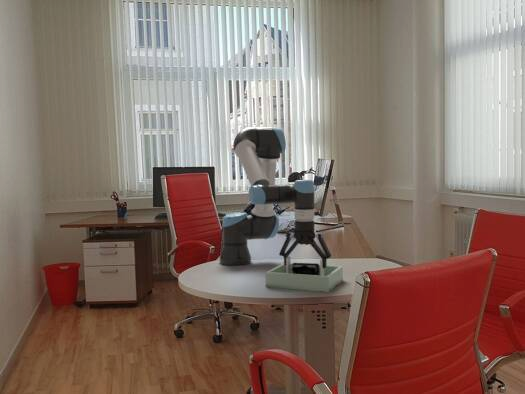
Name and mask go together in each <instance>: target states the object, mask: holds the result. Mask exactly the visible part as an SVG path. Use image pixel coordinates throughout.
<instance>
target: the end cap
mask: <svg viewBox="0 0 525 394" xmlns="http://www.w3.org/2000/svg"><path fill="white" fill-rule="evenodd" d="M292 263H293V267H292V271H293V274H305V275H319V274H320V268H319V265H320V263H316V262H315V263H313V262H312V263H311V262H292Z"/></svg>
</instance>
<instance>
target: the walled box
mask: <svg viewBox="0 0 525 394" xmlns="http://www.w3.org/2000/svg"><path fill="white" fill-rule="evenodd" d="M293 263H294V262H292V263H291V262H290V264H291V273H286V265H284V262H283V263H281V264H279V265H278V266H275V267H273V268H272V269H270V270H268V271H266V272H265V287H266V288H274V289H288V290H299V291H308V292H310V291H312V292H321V291H323V292H322V293H324V292H325V293H330V292H331V291H332V290H333V289H335V288H336V287H337V286H338V285H339V284H340V283H341V282H342V281H343V278H344V277H343V276H344V273H343V272H344V271H343V270H344V269H343V266H339V265H327V266H326V268H324V276H320V274H319V275H305V274H293V271H292V267H293ZM319 268H320V264H319ZM336 285H337V286H336ZM330 290H331V291H330ZM329 291H330V292H329Z"/></svg>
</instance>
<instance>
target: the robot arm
mask: <svg viewBox="0 0 525 394" xmlns="http://www.w3.org/2000/svg"><path fill="white" fill-rule="evenodd" d="M286 142H287V141H286V137H285V134H284V131H283V130H282V129H281V128H279V127H271V126H269V127H268V126H267V127H266V126H265V127H263V126H262V127H261V126H260V127H259V126H257V127H253V126H248V127H245V128H244V129H241V131H239V132H238V133H237V134H236V136H235V137H234V140H233V145H232V146H233V147H232V148H233V151H234V152H233V153H234V154H235V156H236V157H237V158H238V159H239V160H240V163H241V164H242V165H241V166H242V167H243V170H244V173H245V175H246V178H247V180H248V183H249V185H250V187H249V189H248V198H249V199H248V200H249V202H250V204H251V205H254V208H253V209H252V210H251V212H250V213H251V214H249V215H248V213H247V212H233V213H230V214H227V215H224V216H223V218H222V223H221V224H222V225H221V226H222V249H221V252H220V254H219V264H220V265H225V266H241V265H242V266H243V265H248V264H251V263H252V255H251V253H250V250H249V248H248V241H249V240H267V239H273V238H275V237H276V236H277V234H278V232H279V228H280V222H279V221H280V218H279V216H278V215H277V214H276V211H275V209H274V205H281V204H286V205H287V204H294V219H295V221H294V232H292V231H289V232H287V233H286V239H284V240H285V241H284V243H283V244H282V247H281V249H280V251H279V253H278V254H279V256H280V257H283V263H284V265H286V273H291V264H290V263H291V256H290V255H291V253H292V252H293V251H294V250H295V249H296V247H297V246H298V245H301V246H302V245H305V246H308V245H310V246H311V247H312V248H313V250H314V251H315V252H316V253H317V255H318V256H319V257H320V258H321V259H319V265H320V276H324V268H326V266H327V259H330V258H332V254H331V251H330V249H329V248H328V246H327V244H326V241H325V239H324V234H323V232H319V233H316V232H315V183H314V181H313V180H312V179H297V180H295V181H294V183H289V184H276V171H277V162H278V160H279V159H281V154H283V153H285V151H286V147H287V144H286ZM292 238H294V239H295V240H294V242H293V243H292V244H291V246H290V247H289V244H290V242H291V240H292ZM315 239H317V240H318V242H319V244H320V246H321V248H322V249H321V248H320V246H319V245H318V243H317V242H316V241H315ZM288 247H289V248H288Z"/></svg>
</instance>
